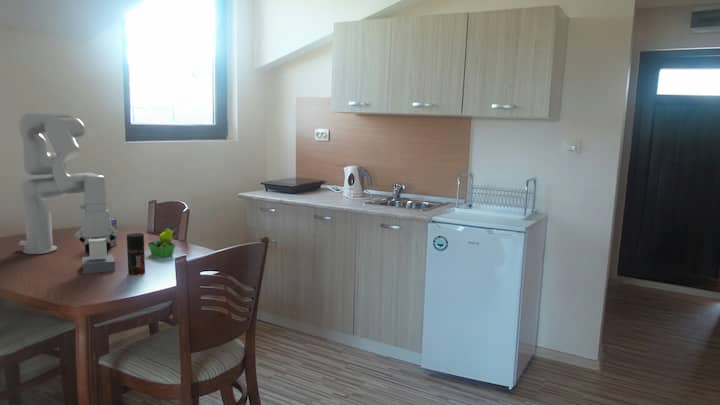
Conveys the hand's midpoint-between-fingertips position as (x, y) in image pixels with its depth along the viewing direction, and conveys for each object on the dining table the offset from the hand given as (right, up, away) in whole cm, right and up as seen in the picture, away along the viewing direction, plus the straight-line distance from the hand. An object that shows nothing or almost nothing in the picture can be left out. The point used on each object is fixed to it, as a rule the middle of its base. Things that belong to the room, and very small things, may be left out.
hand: (98, 252), depth 205 cm
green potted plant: (+17, -3, +23) cm, 29 cm away
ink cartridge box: (-14, -1, +34) cm, 37 cm away
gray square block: (0, -7, +1) cm, 7 cm away
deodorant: (+17, -8, -3) cm, 19 cm away
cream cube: (0, -1, 0) cm, 1 cm away
